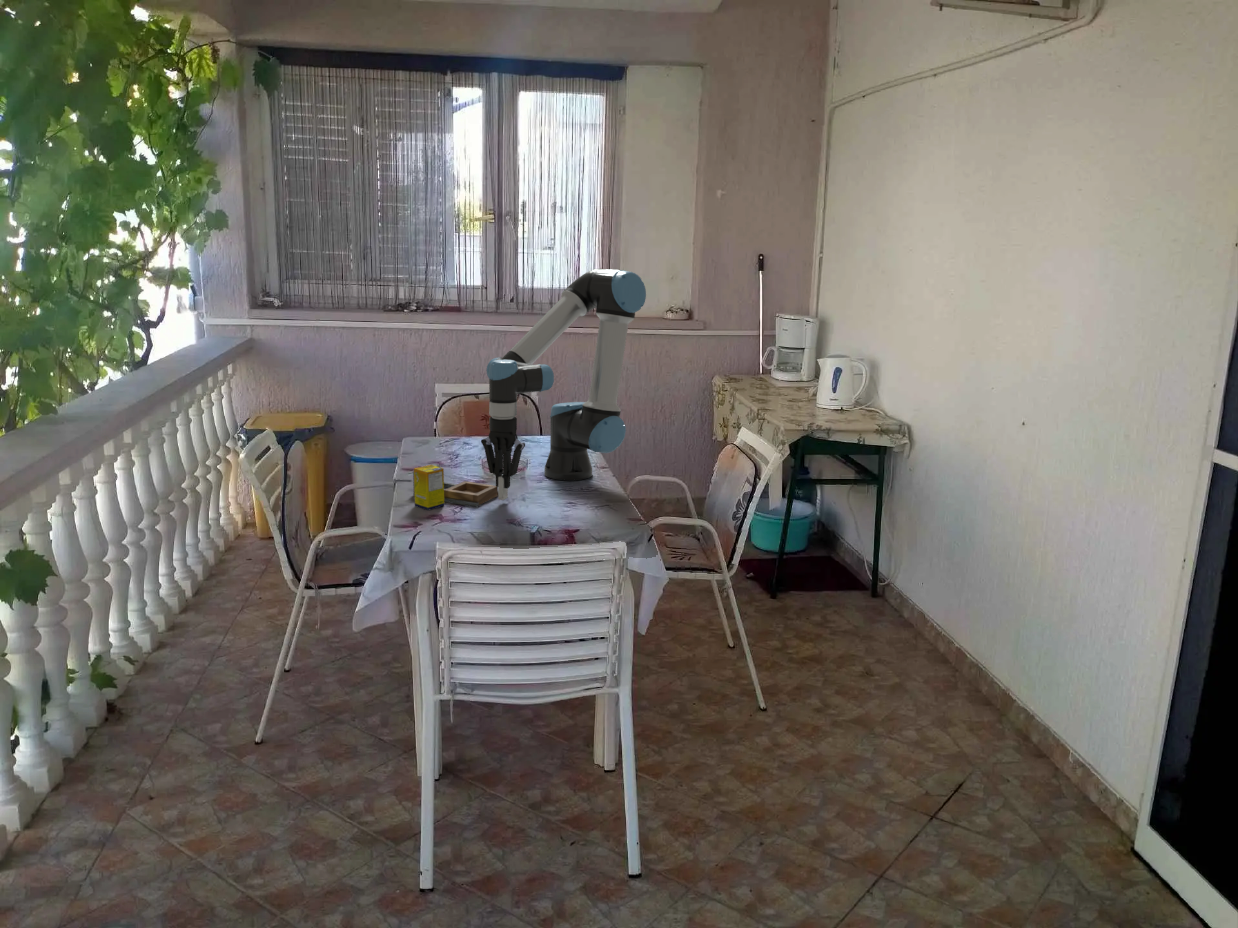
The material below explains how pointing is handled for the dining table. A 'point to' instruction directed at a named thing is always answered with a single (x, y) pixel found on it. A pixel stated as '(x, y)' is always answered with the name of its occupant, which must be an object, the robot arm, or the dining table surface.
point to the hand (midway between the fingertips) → (502, 498)
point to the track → (453, 500)
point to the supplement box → (429, 487)
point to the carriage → (472, 492)
